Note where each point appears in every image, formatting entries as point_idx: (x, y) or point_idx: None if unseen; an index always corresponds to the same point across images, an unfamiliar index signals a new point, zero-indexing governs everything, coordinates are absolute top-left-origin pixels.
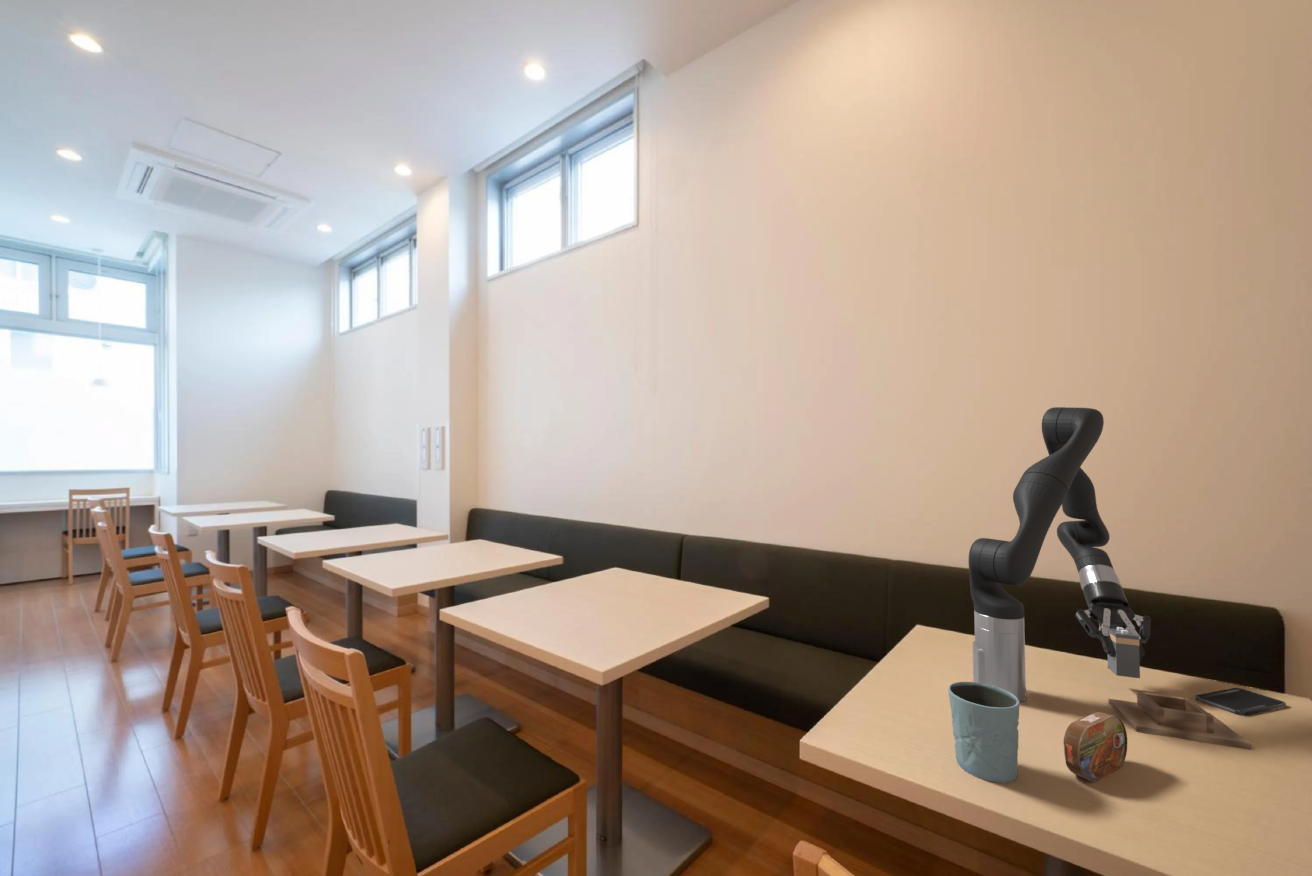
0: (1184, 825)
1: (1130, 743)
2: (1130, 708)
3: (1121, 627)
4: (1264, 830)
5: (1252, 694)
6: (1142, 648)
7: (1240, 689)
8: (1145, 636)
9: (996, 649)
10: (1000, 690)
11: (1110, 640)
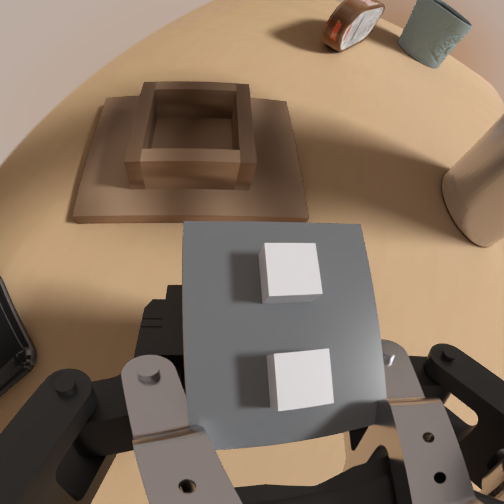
0: (292, 5)
1: (302, 79)
2: (271, 170)
3: (286, 407)
4: (233, 3)
5: None
6: (144, 328)
7: None
8: (76, 382)
9: None
10: (443, 9)
11: None
